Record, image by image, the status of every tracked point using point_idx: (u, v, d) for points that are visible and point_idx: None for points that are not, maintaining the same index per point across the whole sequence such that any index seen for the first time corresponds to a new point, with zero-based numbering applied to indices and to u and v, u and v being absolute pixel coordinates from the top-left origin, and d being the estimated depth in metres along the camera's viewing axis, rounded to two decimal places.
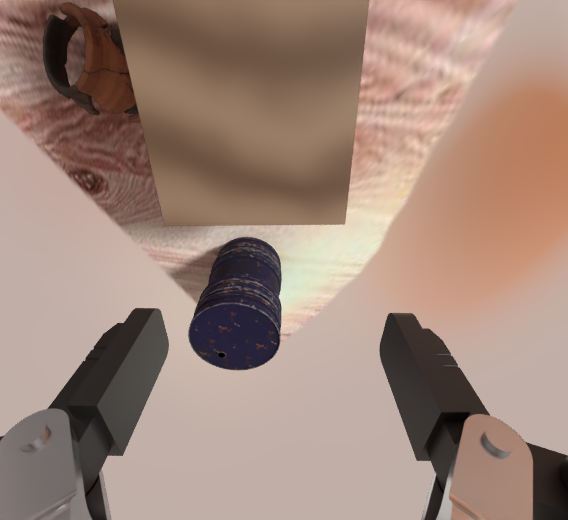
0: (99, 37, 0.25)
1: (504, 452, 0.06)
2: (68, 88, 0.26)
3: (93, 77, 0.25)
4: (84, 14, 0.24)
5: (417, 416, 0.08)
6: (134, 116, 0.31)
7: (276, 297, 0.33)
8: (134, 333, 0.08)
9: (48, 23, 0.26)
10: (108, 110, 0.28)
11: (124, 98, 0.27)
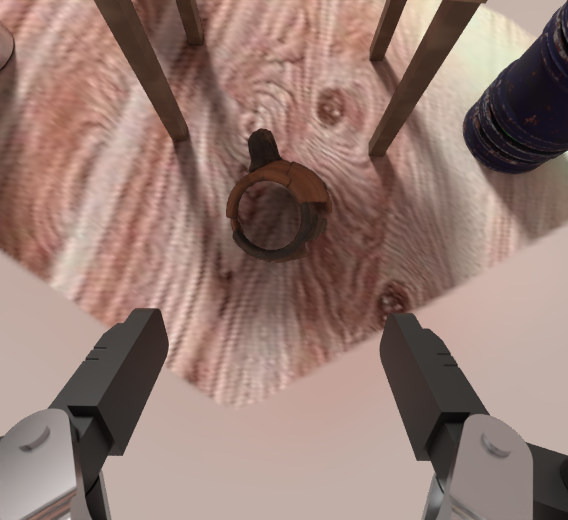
0: None
1: (504, 452, 0.06)
2: (303, 216, 0.22)
3: (294, 181, 0.22)
4: None
5: (417, 416, 0.08)
6: (327, 201, 0.27)
7: None
8: (134, 333, 0.08)
9: (239, 239, 0.24)
10: (324, 197, 0.24)
11: (313, 175, 0.24)
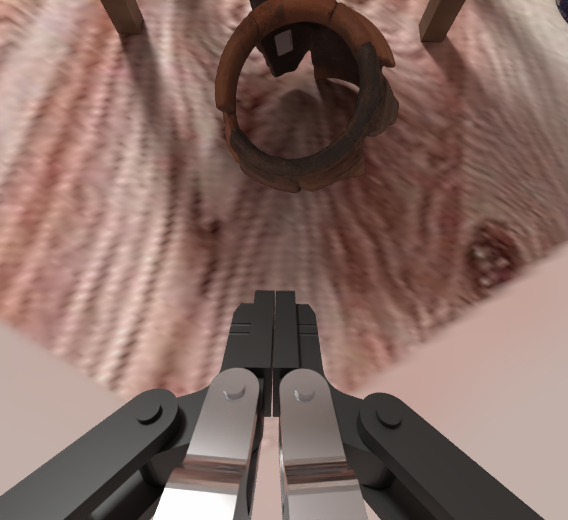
0: None
1: (304, 396, 0.07)
2: (365, 72, 0.11)
3: None
4: None
5: None
6: None
7: None
8: (268, 310, 0.09)
9: (242, 145, 0.13)
10: (393, 57, 0.13)
11: None
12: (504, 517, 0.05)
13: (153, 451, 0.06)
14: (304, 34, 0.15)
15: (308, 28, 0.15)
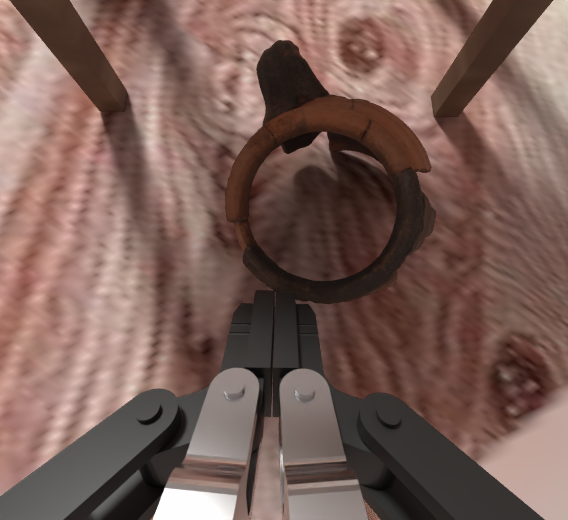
0: None
1: (304, 396, 0.07)
2: (405, 202, 0.09)
3: None
4: (247, 144, 0.11)
5: None
6: None
7: None
8: (268, 310, 0.09)
9: (258, 266, 0.11)
10: (429, 162, 0.11)
11: None
12: (504, 517, 0.05)
13: (153, 451, 0.06)
14: None
15: None
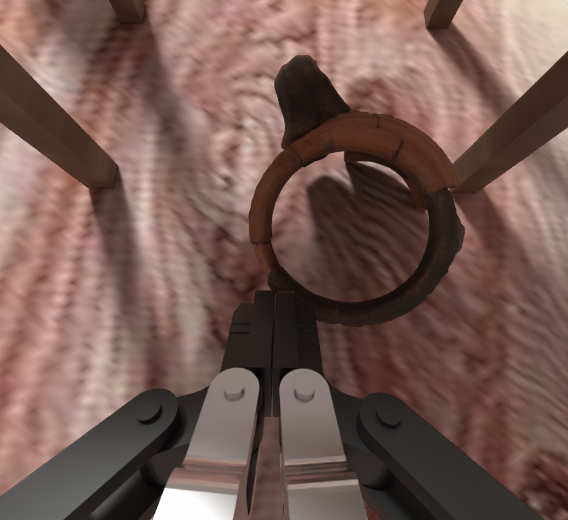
0: None
1: (304, 396, 0.07)
2: (440, 224, 0.09)
3: None
4: (271, 165, 0.10)
5: None
6: None
7: None
8: (268, 310, 0.09)
9: (284, 289, 0.11)
10: (457, 177, 0.11)
11: None
12: (504, 517, 0.05)
13: (153, 451, 0.06)
14: None
15: None
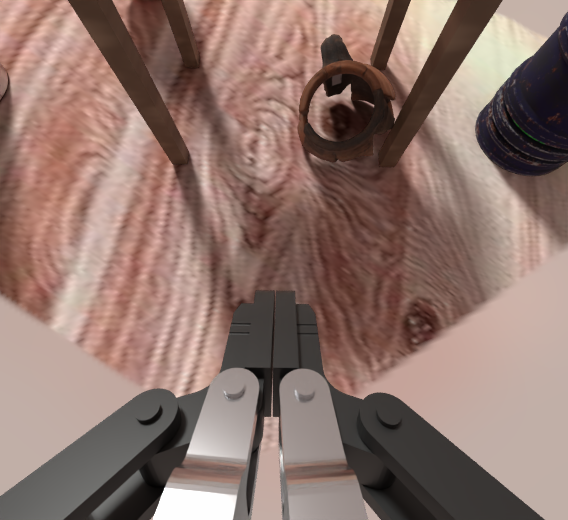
0: None
1: (304, 396, 0.07)
2: (376, 102, 0.23)
3: None
4: (314, 76, 0.25)
5: None
6: None
7: None
8: (268, 310, 0.09)
9: (310, 132, 0.25)
10: (394, 95, 0.25)
11: None
12: (504, 517, 0.05)
13: (153, 451, 0.06)
14: (348, 75, 0.28)
15: None
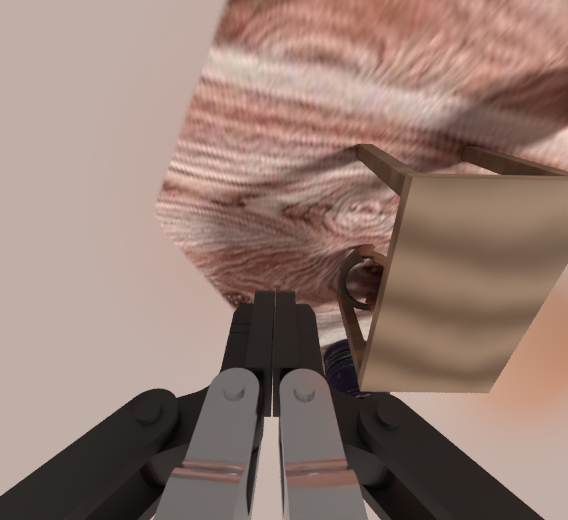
0: None
1: (304, 396, 0.07)
2: (361, 305, 0.37)
3: None
4: None
5: None
6: (372, 303, 0.43)
7: None
8: (268, 310, 0.09)
9: (356, 262, 0.37)
10: (371, 311, 0.40)
11: None
12: (504, 517, 0.05)
13: (153, 451, 0.06)
14: None
15: None
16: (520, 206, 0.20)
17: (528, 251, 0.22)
